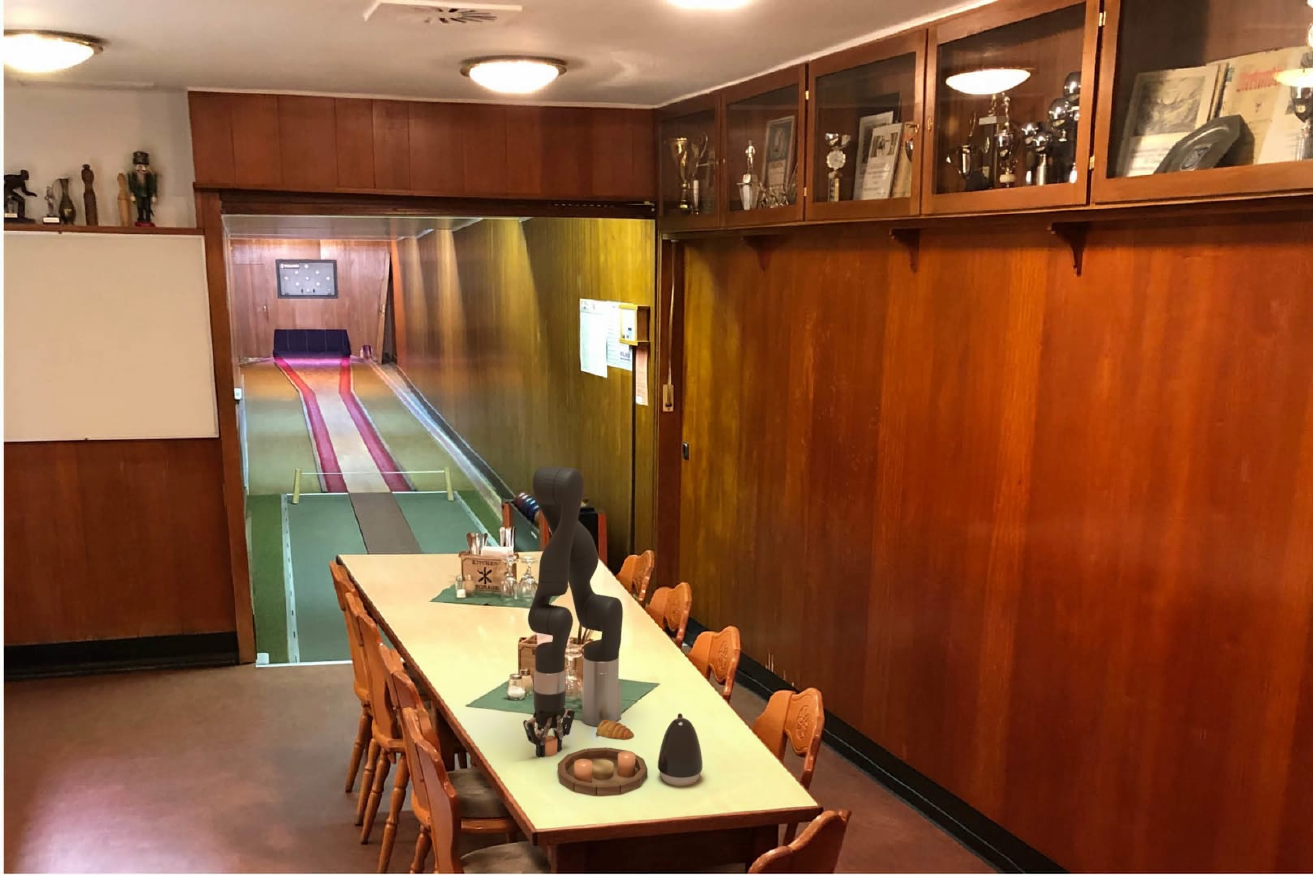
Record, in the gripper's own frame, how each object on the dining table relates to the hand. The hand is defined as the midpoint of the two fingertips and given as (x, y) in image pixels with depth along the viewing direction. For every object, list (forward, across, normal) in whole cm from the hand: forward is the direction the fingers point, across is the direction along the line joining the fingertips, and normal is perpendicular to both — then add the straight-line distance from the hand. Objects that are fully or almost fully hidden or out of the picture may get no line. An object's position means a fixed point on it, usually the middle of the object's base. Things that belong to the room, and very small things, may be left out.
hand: (549, 755), depth 247 cm
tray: (0, +3, -17) cm, 17 cm away
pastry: (+1, +20, 0) cm, 20 cm away
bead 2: (-1, -3, -17) cm, 17 cm away
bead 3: (-1, +8, -20) cm, 21 cm away
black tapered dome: (+1, +16, -29) cm, 33 cm away
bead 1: (0, 0, 0) cm, 0 cm away
